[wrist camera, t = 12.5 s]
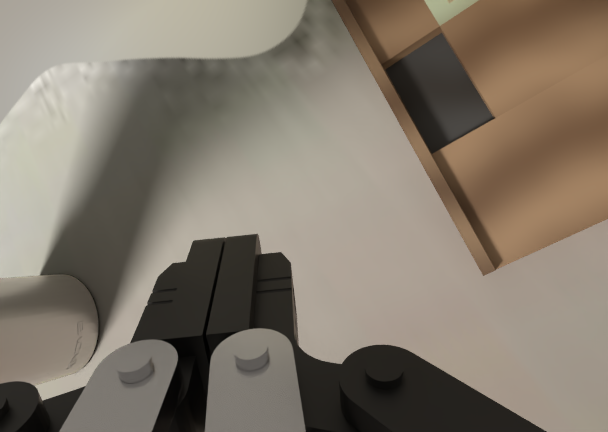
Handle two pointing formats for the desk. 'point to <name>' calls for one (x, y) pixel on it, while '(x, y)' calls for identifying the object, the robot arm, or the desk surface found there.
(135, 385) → the robot arm
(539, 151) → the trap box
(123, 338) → the desk surface
